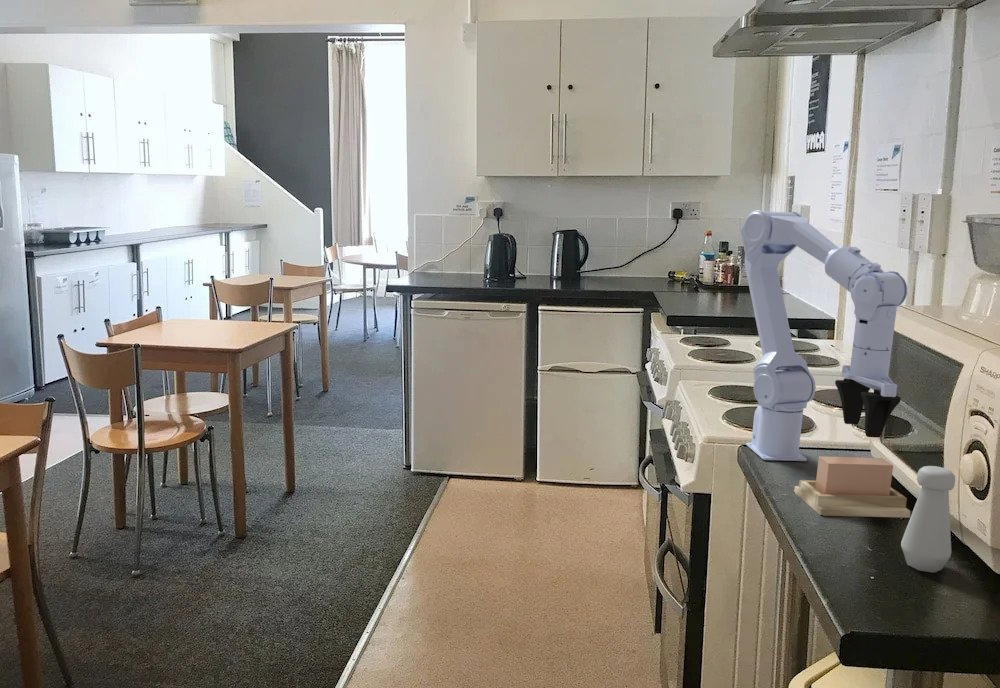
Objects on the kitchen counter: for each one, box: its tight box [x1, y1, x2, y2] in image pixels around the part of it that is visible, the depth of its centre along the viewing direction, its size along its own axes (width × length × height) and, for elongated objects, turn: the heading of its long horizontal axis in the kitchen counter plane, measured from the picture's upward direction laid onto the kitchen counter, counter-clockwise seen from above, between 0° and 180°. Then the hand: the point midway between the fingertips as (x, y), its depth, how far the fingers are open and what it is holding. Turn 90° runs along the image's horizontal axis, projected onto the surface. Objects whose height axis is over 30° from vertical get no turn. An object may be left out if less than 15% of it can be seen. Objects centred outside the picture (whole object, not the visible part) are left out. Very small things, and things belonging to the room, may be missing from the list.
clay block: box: [815, 456, 894, 496], centre depth 134 cm, size 4×10×6 cm, turn 93°
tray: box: [793, 479, 912, 519], centre depth 134 cm, size 10×14×2 cm
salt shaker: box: [900, 465, 956, 574], centre depth 112 cm, size 6×6×13 cm
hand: (861, 430), depth 142 cm, fingers open, 7 cm apart
